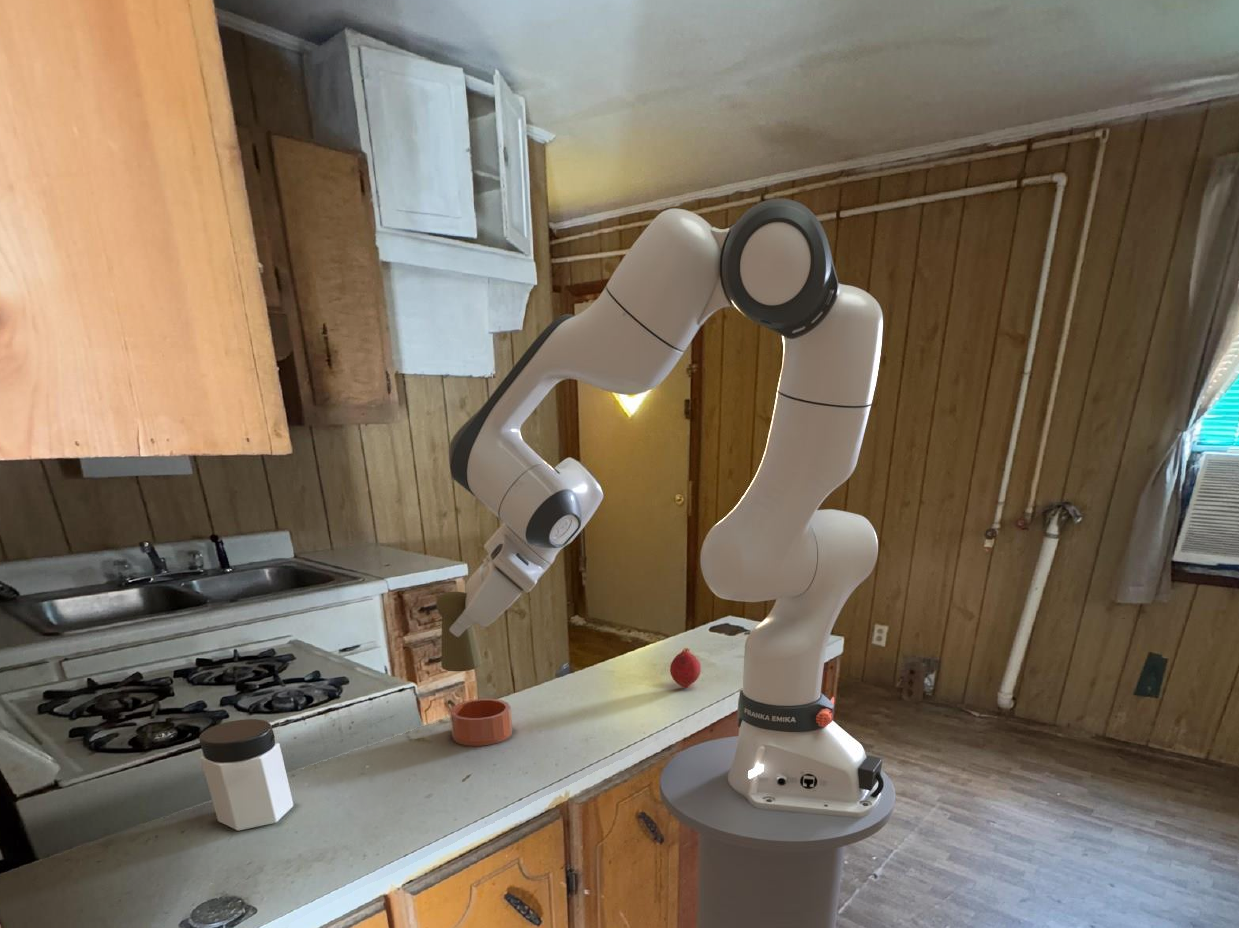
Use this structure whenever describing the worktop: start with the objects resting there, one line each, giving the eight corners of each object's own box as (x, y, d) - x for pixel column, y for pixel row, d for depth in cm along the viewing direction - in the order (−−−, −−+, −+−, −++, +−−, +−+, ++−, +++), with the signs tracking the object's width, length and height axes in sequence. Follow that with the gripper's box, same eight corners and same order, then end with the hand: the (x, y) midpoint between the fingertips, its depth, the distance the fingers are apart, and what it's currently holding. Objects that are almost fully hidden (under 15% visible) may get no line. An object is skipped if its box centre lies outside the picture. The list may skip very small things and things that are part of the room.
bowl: (523, 728, 124) (521, 703, 122) (490, 749, 116) (487, 723, 114) (475, 720, 128) (472, 695, 126) (440, 740, 120) (437, 714, 118)
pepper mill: (435, 663, 113) (425, 591, 108) (472, 656, 116) (465, 586, 111) (450, 674, 108) (440, 600, 103) (488, 666, 111) (481, 594, 107)
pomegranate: (690, 694, 139) (691, 654, 136) (664, 689, 142) (664, 649, 138) (705, 686, 143) (706, 646, 140) (679, 681, 146) (680, 641, 143)
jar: (305, 810, 98) (287, 727, 94) (246, 837, 92) (223, 749, 87) (266, 793, 103) (247, 713, 98) (207, 818, 97) (183, 733, 92)
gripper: (495, 533, 115) (438, 599, 117) (500, 555, 97) (433, 632, 99) (526, 561, 118) (470, 624, 120) (537, 587, 100) (470, 661, 102)
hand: (453, 628), depth 109 cm, fingers closed on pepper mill, 4 cm apart
